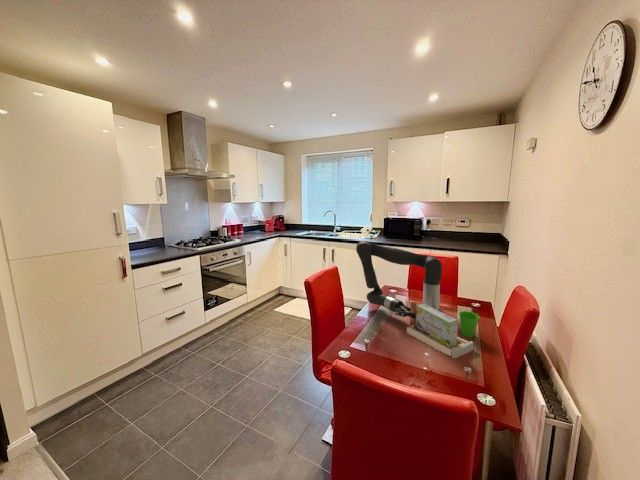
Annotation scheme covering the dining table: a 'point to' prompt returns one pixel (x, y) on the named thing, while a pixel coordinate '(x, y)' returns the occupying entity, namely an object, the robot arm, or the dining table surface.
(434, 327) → the snack box
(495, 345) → the dining table surface
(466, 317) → the cup
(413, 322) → the pull frame
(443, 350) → the frame
